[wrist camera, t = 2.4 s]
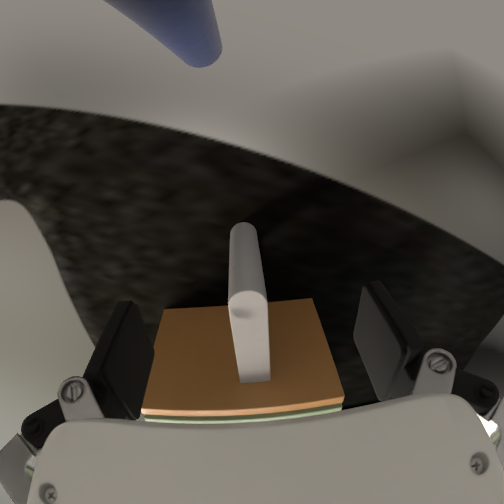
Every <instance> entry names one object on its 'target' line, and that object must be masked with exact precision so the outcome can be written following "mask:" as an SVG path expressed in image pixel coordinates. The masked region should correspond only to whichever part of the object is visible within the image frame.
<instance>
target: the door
mask: <svg viewBox="0 0 504 504" xmlns="http://www.w3.org/2000/svg"><path fill="white" fill-rule="evenodd" d="M154 351H155V356H154V360H153V364H152V368H151V372H150V376H149V380H148V384H147V388H146V392H145V396H144V400H143V405H142V409H141V412H142V413H143V414H148V415H164V416H238V415H254V414H266V413H277V412H286V411H294V410H301V409H308V408H315V407H321V406H327V405H332V404H338V403H342V402H343V399H344V396H345V395H344V392H343V389H342V386H341V383H340V380H339V376H338V373H337V370H336V367H335V364H334V361H333V358H332V355H331V352H330V349H329V346H328V343H327V340H326V337H325V334H324V331H323V328H322V325H321V323H320V320H319V317H318V314H317V311H316V308H315V305H314V303H313V300H312V298H307V299H298V300H288V301H278V302H267V295H266V289H265V282H264V276H263V270H262V263H261V257H260V250H259V244H258V238H257V232H256V229H255V227H254V226H253V225H251V224H249V223H246V222H241V223H238V224H236V225H235V226H234V227H233V228H232V229H231V232H230V256H229V289H228V306H215V307H199V308H180V309H164V312H163V315H162V319H161V322H160V326H159V329H158V333H157V337H156V340H155V344H154Z"/></svg>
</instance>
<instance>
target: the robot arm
mask: <svg viewBox="0 0 504 504" xmlns="http://www.w3.org/2000/svg"><path fill="white" fill-rule="evenodd" d="M353 336H354V341H355V344H356V346H357V348H358V351H359V353H360V355H361V358H362V360H363V363H364V365H365V367H366V370H367V372H368V375H369V377H370V380H371V382H372V385H373V387H374V390H375V392H376V395H377V397H378V399H379V400H380V401H381V400H382V401H383V402H380V403H375V404H371V405H366V406H362V407H357V408H352V409H347V410H342V411H337V412H331V413H326V414H320V415H313V416H306V417H299V418H291V419H282V420H272V421H260V422H245V423H217V424H190V423H164V422H148V421H136V419H138V418H139V417H140V413H141V409H142V405H143V400H144V396H145V392H146V388H147V384H148V380H149V376H150V372H151V368H152V364H153V360H154V356H155V351H154V348H153V345H152V343H151V340H150V338H149V335H148V332H147V330H146V327H145V324H144V322H143V319H142V316H141V314H140V311H139V308H138V306H137V304H134V303H133V302H132V301H119V302H118V303H117V305H116V307H115V309H114V311H113V313H112V315H111V317H110V319H109V321H108V323H107V325H106V327H105V329H104V332H103V334H102V335H101V337H100V339H99V341H98V344H97V346H96V348H95V350H94V352H93V355H92V357H91V359H90V361H89V363H88V366H87V368H86V370H85V373H84V375H83V377H79V376H73V377H70V378H68V379H66V380H65V381H63V383H62V384H61V385H60V387H59V388H58V393H57V394H58V399H57V400H55V401H53V402H52V403H50V404H48V405H46V406H45V407H43V408H41V409H39V410H37V411H36V412H34V413H32V414H31V415H29V416H28V417H26V419H25V420H24V421H23V423H22V427H21V432H22V434H21V435H19V434H18V433H17V434H16V435H15V436H14V437H13V438H12V440H10V442H8V443H7V445H6V446H4V447H3V449H2V450H1V451H0V483H1V484H2V486H3V487H4V489H5V490H6V492H7V493H8V495H9V496H10V498H11V499H12V501H13V502H14V503H15V504H504V396H503V397H502V399H501V398H500V397H499V391H498V388H497V387H496V385H495V384H494V383H493V382H491V381H489V380H487V379H484V378H481V377H479V376H476V375H473V374H471V373H468V372H465V371H463V370H460V369H457V368H456V361H455V359H454V357H453V356H452V355H451V354H450V353H449V352H447V351H445V350H443V349H438V348H437V349H431V350H429V351H428V349H427V347H426V346H425V344H424V343H423V341H422V339H421V338H420V336H419V335H418V333H417V332H416V330H415V329H414V327H413V326H412V324H411V322H410V321H409V319H408V318H407V316H406V315H405V313H404V312H403V311H402V310H401V309H400V308H399V306H398V305H397V303H396V302H395V301H394V299H393V298H392V296H391V295H390V293H389V292H388V290H387V289H386V288H385V286H384V285H383V283H382V282H381V281H373V282H367V283H366V286H363V287H362V292H361V298H360V303H359V309H358V314H357V319H356V324H355V329H354V334H353Z"/></svg>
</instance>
